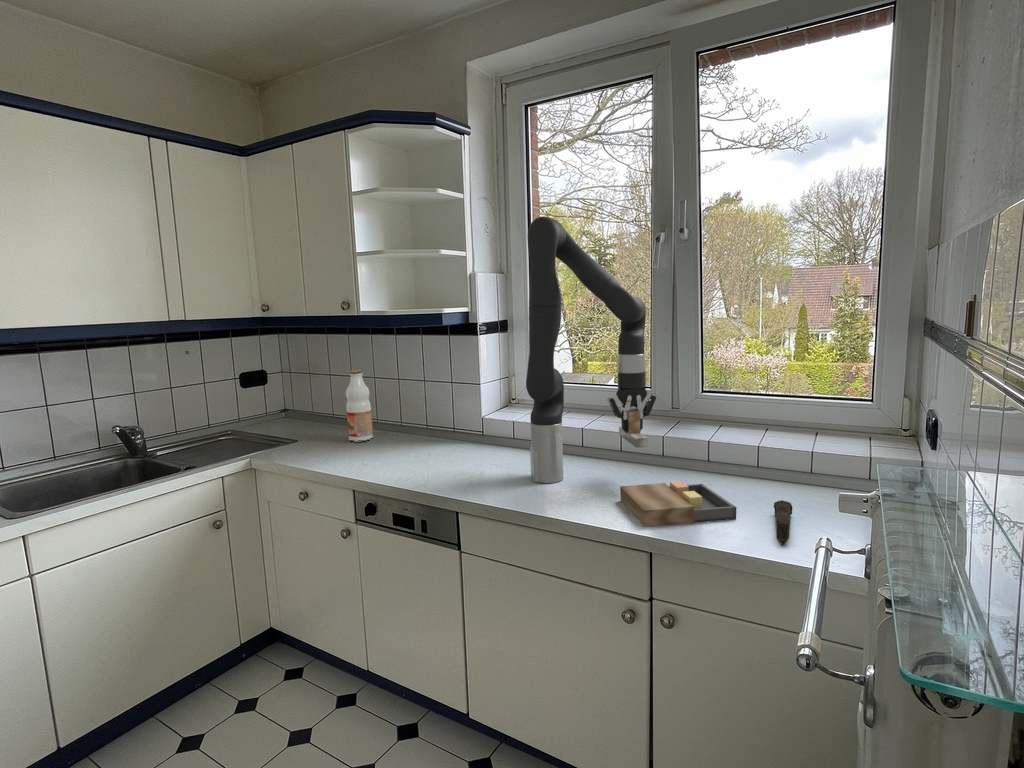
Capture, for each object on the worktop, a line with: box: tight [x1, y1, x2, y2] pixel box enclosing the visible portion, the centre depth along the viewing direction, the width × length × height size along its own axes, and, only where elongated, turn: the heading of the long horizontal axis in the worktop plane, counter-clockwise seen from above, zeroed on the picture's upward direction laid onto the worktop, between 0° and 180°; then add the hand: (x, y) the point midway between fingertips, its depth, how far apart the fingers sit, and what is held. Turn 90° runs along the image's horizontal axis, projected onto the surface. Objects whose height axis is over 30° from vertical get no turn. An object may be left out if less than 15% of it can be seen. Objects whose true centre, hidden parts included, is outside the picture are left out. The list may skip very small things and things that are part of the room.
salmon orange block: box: [669, 481, 689, 497], centre depth 148 cm, size 4×4×3 cm
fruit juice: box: [345, 369, 374, 441], centre depth 229 cm, size 9×9×28 cm
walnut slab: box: [619, 482, 695, 528], centre depth 144 cm, size 12×18×4 cm, turn 7°
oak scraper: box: [618, 408, 648, 449], centre depth 161 cm, size 3×15×8 cm, turn 7°
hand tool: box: [773, 499, 793, 546], centre depth 130 cm, size 19×4×5 cm, turn 153°
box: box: [668, 483, 737, 524], centre depth 145 cm, size 10×18×3 cm, turn 7°
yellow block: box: [682, 491, 702, 509], centre depth 141 cm, size 4×4×3 cm
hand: (632, 431), depth 161 cm, fingers closed on oak scraper, 3 cm apart
